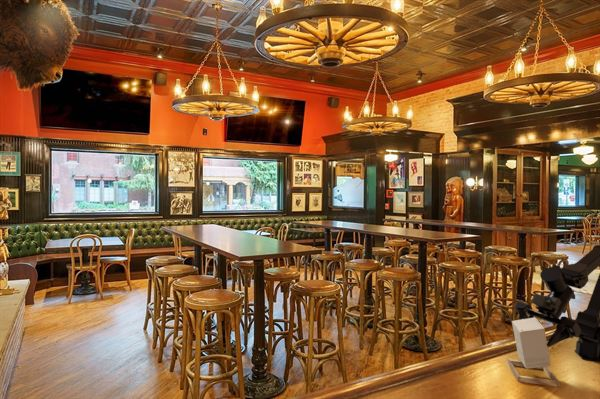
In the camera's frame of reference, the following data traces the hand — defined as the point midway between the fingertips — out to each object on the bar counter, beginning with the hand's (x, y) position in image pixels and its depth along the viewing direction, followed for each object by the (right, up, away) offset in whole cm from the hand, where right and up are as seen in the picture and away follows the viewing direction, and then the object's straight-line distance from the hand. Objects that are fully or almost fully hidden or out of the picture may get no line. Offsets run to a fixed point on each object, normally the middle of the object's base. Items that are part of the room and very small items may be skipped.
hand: (532, 339), depth 128 cm
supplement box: (+1, -7, +1) cm, 7 cm away
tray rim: (+1, -12, +2) cm, 12 cm away
